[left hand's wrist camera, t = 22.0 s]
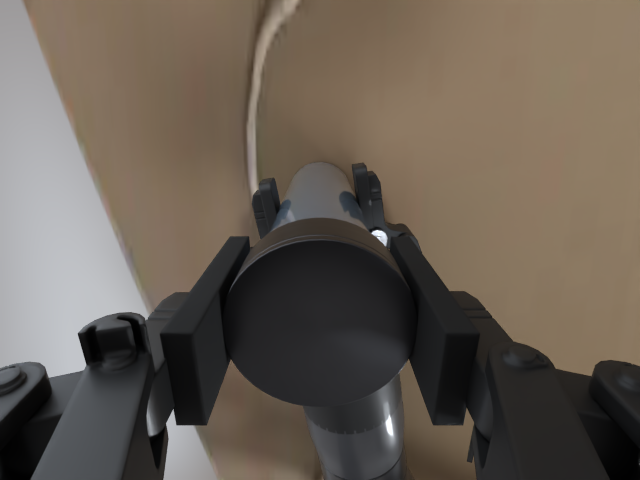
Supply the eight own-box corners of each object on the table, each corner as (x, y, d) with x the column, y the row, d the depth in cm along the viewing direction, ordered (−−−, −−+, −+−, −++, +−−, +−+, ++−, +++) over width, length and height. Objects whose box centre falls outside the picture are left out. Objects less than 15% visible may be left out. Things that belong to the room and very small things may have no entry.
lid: (306, 180, 11) (303, 195, 9) (436, 285, 12) (460, 319, 10) (205, 306, 12) (183, 343, 10) (330, 387, 13) (332, 435, 12)
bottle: (287, 220, 28) (240, 372, 12) (290, 159, 27) (242, 235, 10) (347, 225, 29) (385, 382, 12) (354, 164, 27) (410, 249, 10)
